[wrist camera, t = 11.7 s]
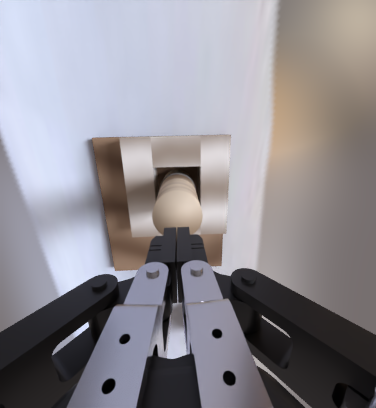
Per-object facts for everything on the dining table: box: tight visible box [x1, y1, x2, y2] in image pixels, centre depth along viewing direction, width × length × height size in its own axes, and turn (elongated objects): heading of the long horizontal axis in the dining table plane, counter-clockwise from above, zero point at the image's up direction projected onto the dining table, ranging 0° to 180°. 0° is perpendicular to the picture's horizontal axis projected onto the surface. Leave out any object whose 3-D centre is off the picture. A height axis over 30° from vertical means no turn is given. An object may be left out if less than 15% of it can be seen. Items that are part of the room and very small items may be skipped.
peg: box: [152, 170, 203, 235], centre depth 21 cm, size 4×4×12 cm
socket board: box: [92, 135, 231, 271], centre depth 27 cm, size 20×17×6 cm
